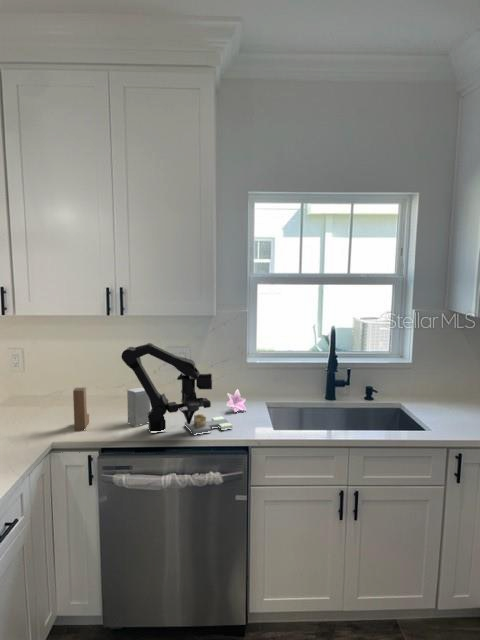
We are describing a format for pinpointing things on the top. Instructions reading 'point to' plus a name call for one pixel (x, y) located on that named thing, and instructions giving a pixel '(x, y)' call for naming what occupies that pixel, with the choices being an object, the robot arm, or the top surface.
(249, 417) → the top surface
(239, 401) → the lily
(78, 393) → the wooden block
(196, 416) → the maple block
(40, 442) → the top surface
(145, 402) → the skincare box
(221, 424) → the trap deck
